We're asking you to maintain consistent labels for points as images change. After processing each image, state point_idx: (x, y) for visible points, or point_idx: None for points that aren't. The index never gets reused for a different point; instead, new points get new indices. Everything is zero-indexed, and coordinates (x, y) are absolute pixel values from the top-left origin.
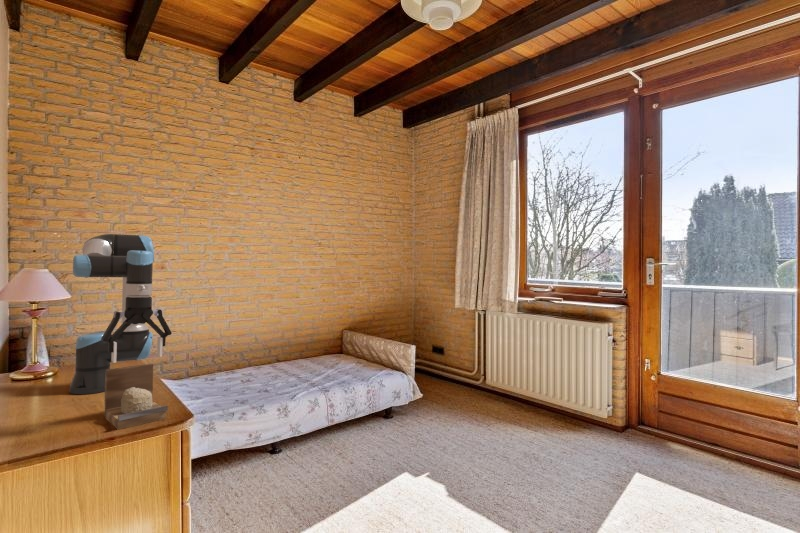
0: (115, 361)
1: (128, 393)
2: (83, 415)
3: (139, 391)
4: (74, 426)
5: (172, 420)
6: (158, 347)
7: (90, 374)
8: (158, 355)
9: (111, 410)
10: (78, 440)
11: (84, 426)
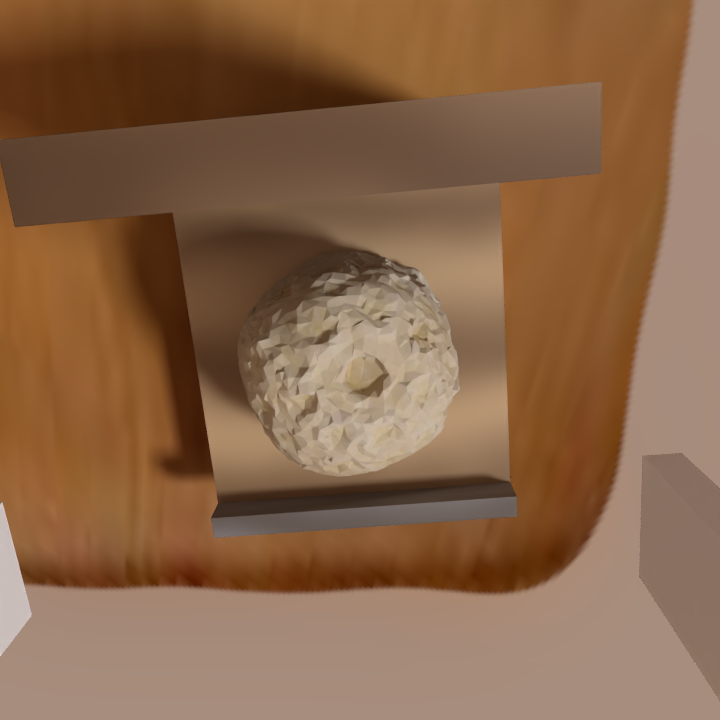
0: (10, 627)
1: (271, 427)
2: (60, 10)
3: (351, 456)
4: (17, 246)
5: None
6: (713, 603)
7: None
8: (645, 523)
9: (202, 258)
10: (47, 511)
11: (70, 287)
